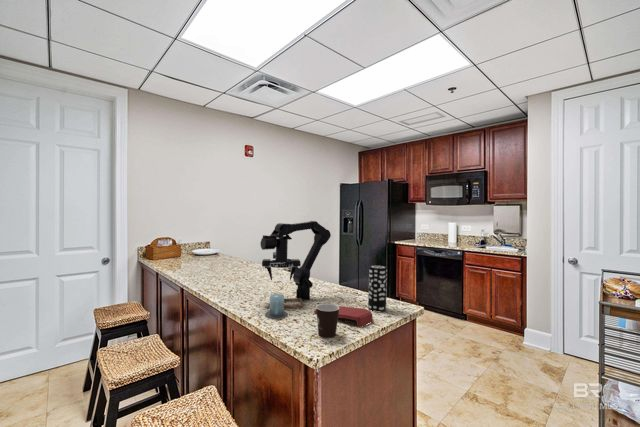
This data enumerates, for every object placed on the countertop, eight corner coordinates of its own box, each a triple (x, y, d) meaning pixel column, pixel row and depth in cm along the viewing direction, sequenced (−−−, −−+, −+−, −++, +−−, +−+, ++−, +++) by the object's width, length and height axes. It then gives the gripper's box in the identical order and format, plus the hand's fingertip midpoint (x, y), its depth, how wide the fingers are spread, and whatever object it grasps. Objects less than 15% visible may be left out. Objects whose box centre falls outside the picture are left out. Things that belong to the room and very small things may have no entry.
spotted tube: (387, 308, 142) (388, 266, 142) (383, 313, 134) (384, 269, 134) (370, 305, 145) (371, 264, 145) (366, 310, 138) (367, 267, 138)
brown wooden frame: (301, 300, 151) (301, 298, 151) (303, 308, 139) (303, 305, 139) (271, 301, 148) (271, 298, 148) (270, 309, 136) (271, 306, 136)
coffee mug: (336, 340, 104) (337, 312, 104) (313, 337, 106) (313, 310, 106) (341, 328, 116) (341, 302, 116) (319, 325, 117) (320, 300, 117)
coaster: (287, 310, 135) (287, 310, 135) (288, 318, 125) (288, 317, 125) (265, 311, 133) (265, 310, 133) (264, 319, 123) (264, 318, 123)
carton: (313, 322, 132) (358, 329, 115) (312, 310, 133) (357, 316, 116) (330, 315, 141) (375, 321, 124) (330, 305, 142) (374, 309, 125)
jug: (283, 318, 124) (284, 299, 124) (269, 318, 123) (269, 299, 123) (283, 311, 132) (283, 293, 132) (269, 311, 132) (270, 293, 132)
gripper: (299, 246, 156) (298, 276, 156) (263, 246, 154) (262, 276, 154) (301, 249, 145) (300, 281, 145) (262, 249, 143) (261, 281, 143)
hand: (280, 280), depth 147 cm, fingers open, 9 cm apart
